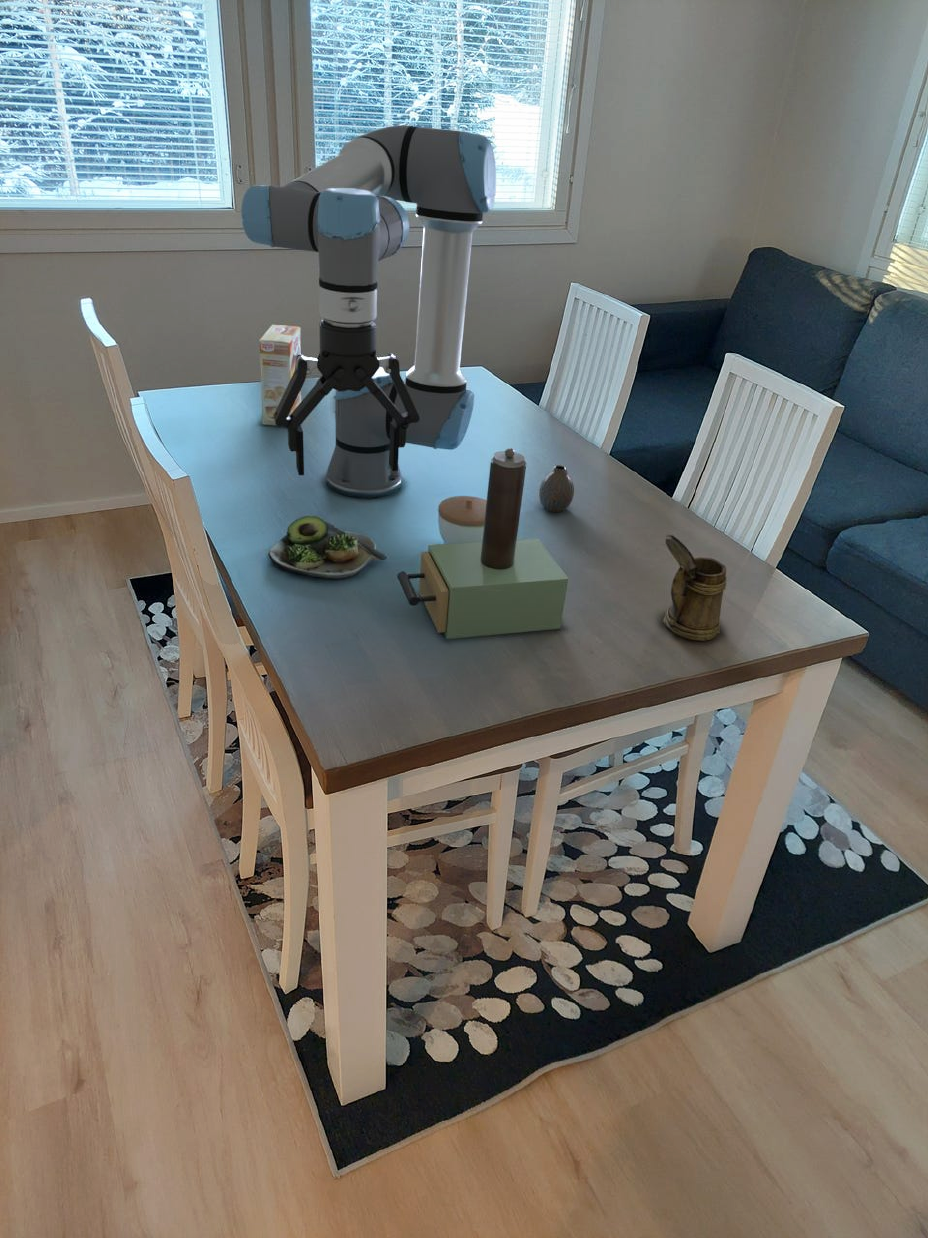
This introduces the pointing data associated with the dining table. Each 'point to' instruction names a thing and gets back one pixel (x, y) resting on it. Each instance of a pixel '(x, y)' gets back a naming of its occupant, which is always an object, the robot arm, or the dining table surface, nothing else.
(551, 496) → the vase
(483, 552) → the pepper mill
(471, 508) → the trinket box
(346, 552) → the salad plate
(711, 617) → the wooden mug
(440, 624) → the drawer
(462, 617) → the cabinet
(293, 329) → the coffeecake box
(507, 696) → the dining table surface
